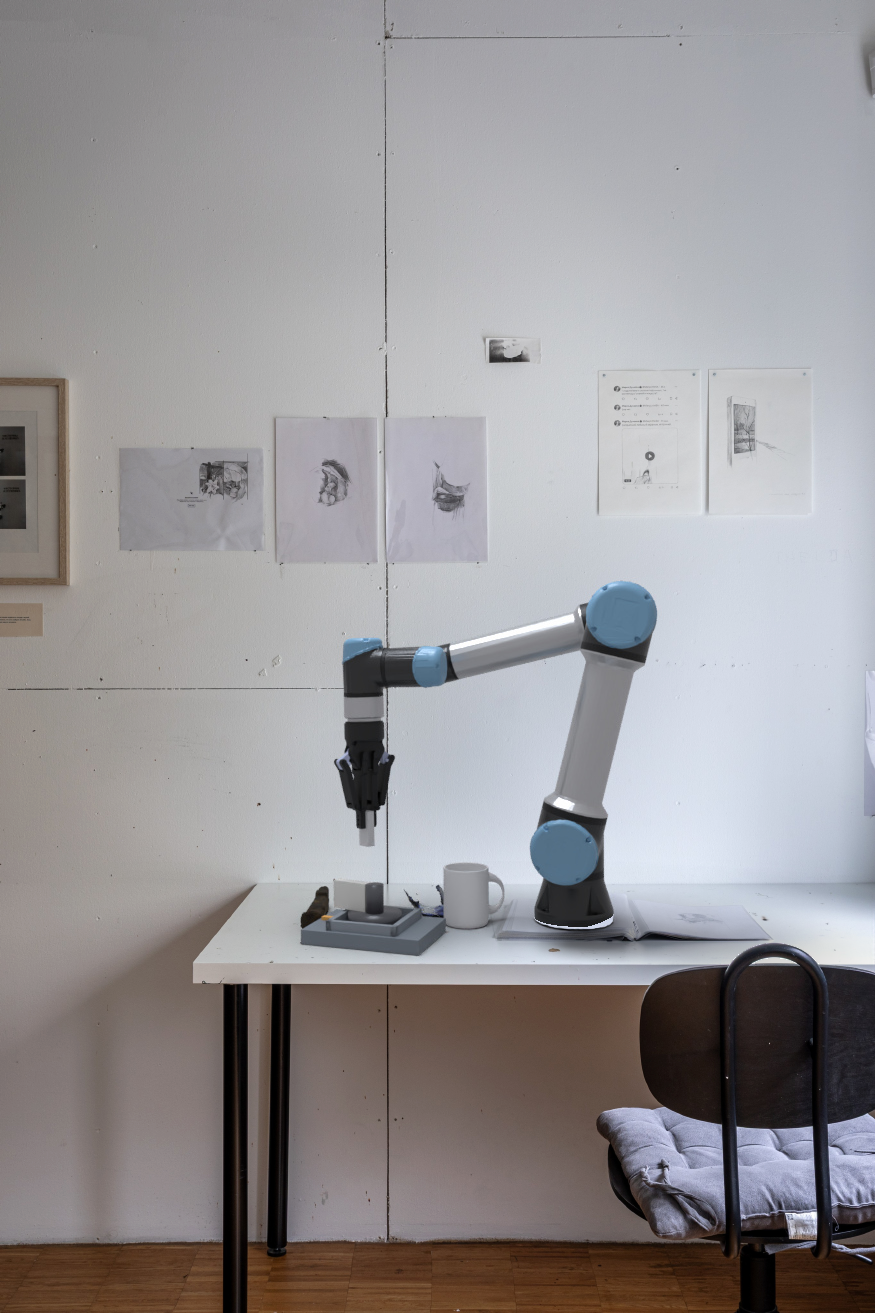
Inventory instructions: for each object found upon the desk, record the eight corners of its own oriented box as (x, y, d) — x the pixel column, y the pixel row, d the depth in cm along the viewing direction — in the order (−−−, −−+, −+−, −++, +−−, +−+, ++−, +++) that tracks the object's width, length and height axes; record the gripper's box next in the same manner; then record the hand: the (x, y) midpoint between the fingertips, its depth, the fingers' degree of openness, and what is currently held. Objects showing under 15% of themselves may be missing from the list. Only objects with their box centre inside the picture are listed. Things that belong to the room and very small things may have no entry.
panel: (445, 932, 172) (445, 909, 172) (418, 955, 158) (418, 930, 158) (336, 922, 179) (336, 900, 179) (300, 944, 165) (300, 920, 165)
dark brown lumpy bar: (321, 932, 173) (321, 907, 173) (300, 932, 173) (300, 907, 173) (339, 907, 192) (339, 884, 192) (319, 906, 192) (319, 884, 192)
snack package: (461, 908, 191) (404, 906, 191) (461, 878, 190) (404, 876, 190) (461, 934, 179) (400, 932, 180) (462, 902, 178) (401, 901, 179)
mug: (512, 926, 176) (511, 869, 176) (450, 931, 173) (450, 873, 173) (497, 915, 184) (497, 860, 184) (438, 919, 181) (438, 863, 181)
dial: (411, 919, 170) (411, 882, 170) (381, 932, 162) (381, 893, 162) (352, 910, 177) (352, 874, 177) (320, 922, 169) (320, 884, 169)
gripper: (379, 717, 183) (382, 838, 183) (324, 721, 175) (326, 848, 174) (403, 718, 178) (406, 843, 177) (347, 722, 169) (350, 853, 169)
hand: (367, 845), depth 176 cm, fingers closed
